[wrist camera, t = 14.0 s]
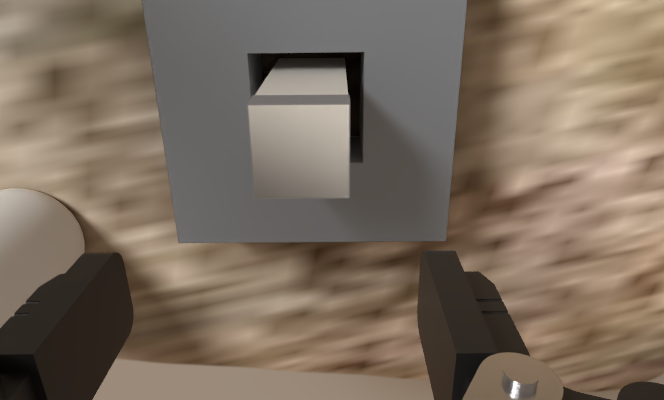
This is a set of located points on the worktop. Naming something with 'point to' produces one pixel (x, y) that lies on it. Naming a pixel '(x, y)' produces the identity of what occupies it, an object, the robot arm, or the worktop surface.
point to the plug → (301, 131)
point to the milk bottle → (33, 245)
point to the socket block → (365, 151)
